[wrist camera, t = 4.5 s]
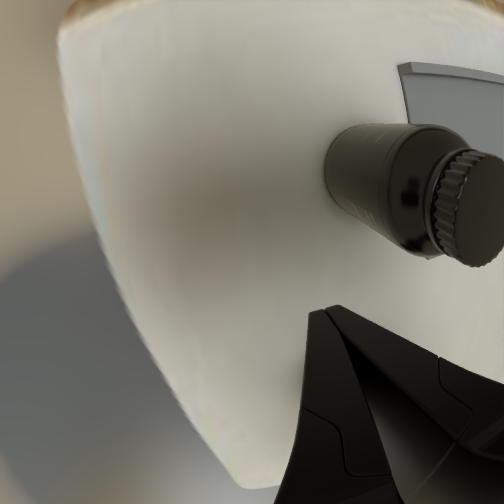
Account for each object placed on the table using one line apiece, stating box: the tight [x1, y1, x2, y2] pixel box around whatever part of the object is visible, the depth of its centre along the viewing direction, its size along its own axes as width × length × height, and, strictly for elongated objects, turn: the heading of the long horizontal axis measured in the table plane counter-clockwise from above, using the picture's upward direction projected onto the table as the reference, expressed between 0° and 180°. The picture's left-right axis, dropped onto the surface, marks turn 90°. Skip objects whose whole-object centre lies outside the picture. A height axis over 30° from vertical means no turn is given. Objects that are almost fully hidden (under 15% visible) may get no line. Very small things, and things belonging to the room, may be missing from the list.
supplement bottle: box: [325, 124, 504, 267], centre depth 14 cm, size 7×7×12 cm
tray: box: [398, 62, 504, 260], centre depth 19 cm, size 18×16×2 cm
